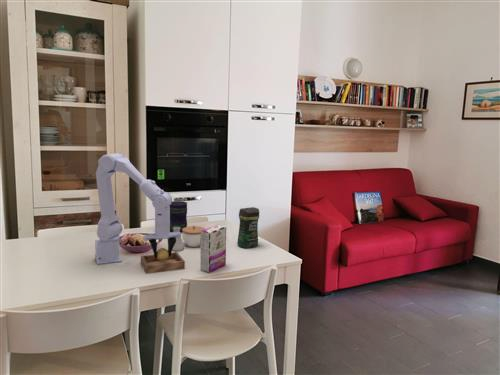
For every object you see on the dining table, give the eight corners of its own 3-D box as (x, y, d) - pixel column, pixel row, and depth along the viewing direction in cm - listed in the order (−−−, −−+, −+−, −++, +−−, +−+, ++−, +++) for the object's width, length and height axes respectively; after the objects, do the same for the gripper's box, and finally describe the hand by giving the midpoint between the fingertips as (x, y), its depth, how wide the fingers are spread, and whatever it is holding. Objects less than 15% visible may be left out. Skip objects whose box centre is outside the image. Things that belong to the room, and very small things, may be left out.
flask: (181, 252, 175) (181, 230, 174) (165, 250, 177) (165, 229, 175) (186, 247, 182) (187, 226, 181) (172, 245, 184) (172, 225, 182)
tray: (146, 273, 150) (146, 265, 150) (140, 262, 161) (140, 255, 160) (184, 268, 157) (184, 261, 156) (177, 258, 167) (177, 251, 167)
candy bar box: (216, 262, 165) (217, 224, 162) (226, 264, 162) (227, 226, 160) (199, 270, 156) (199, 230, 153) (209, 273, 153) (210, 232, 150)
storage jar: (185, 233, 204) (185, 205, 201) (166, 232, 204) (166, 204, 202) (188, 228, 214) (188, 201, 211) (170, 227, 214) (170, 200, 211)
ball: (157, 263, 155) (157, 251, 154) (154, 259, 160) (154, 247, 159) (170, 261, 157) (170, 249, 157) (167, 257, 162) (166, 245, 161)
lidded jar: (177, 246, 183) (177, 226, 182) (189, 240, 193) (189, 221, 191) (198, 250, 179) (198, 230, 178) (209, 243, 189) (209, 224, 187)
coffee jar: (244, 249, 182) (245, 210, 179) (234, 245, 188) (236, 207, 185) (260, 246, 188) (262, 208, 185) (251, 242, 194) (252, 205, 191)
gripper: (145, 227, 149) (145, 261, 151) (183, 224, 155) (182, 257, 158) (142, 222, 155) (142, 255, 158) (178, 220, 162) (178, 252, 164)
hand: (162, 256), depth 158 cm, fingers closed on ball, 5 cm apart
